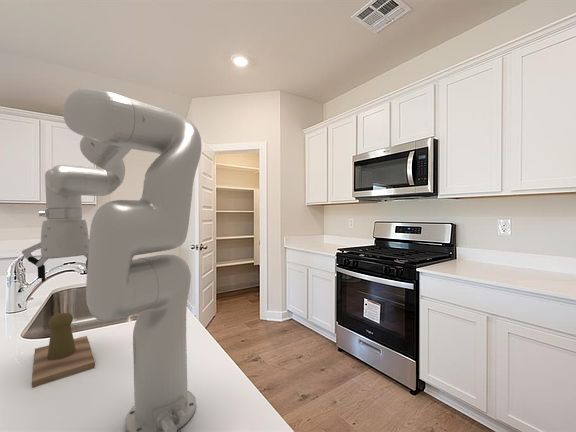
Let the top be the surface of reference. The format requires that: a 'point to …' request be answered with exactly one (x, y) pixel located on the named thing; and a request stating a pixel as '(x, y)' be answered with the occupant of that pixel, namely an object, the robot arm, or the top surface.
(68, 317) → the cork
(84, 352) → the walnut board
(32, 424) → the top surface
